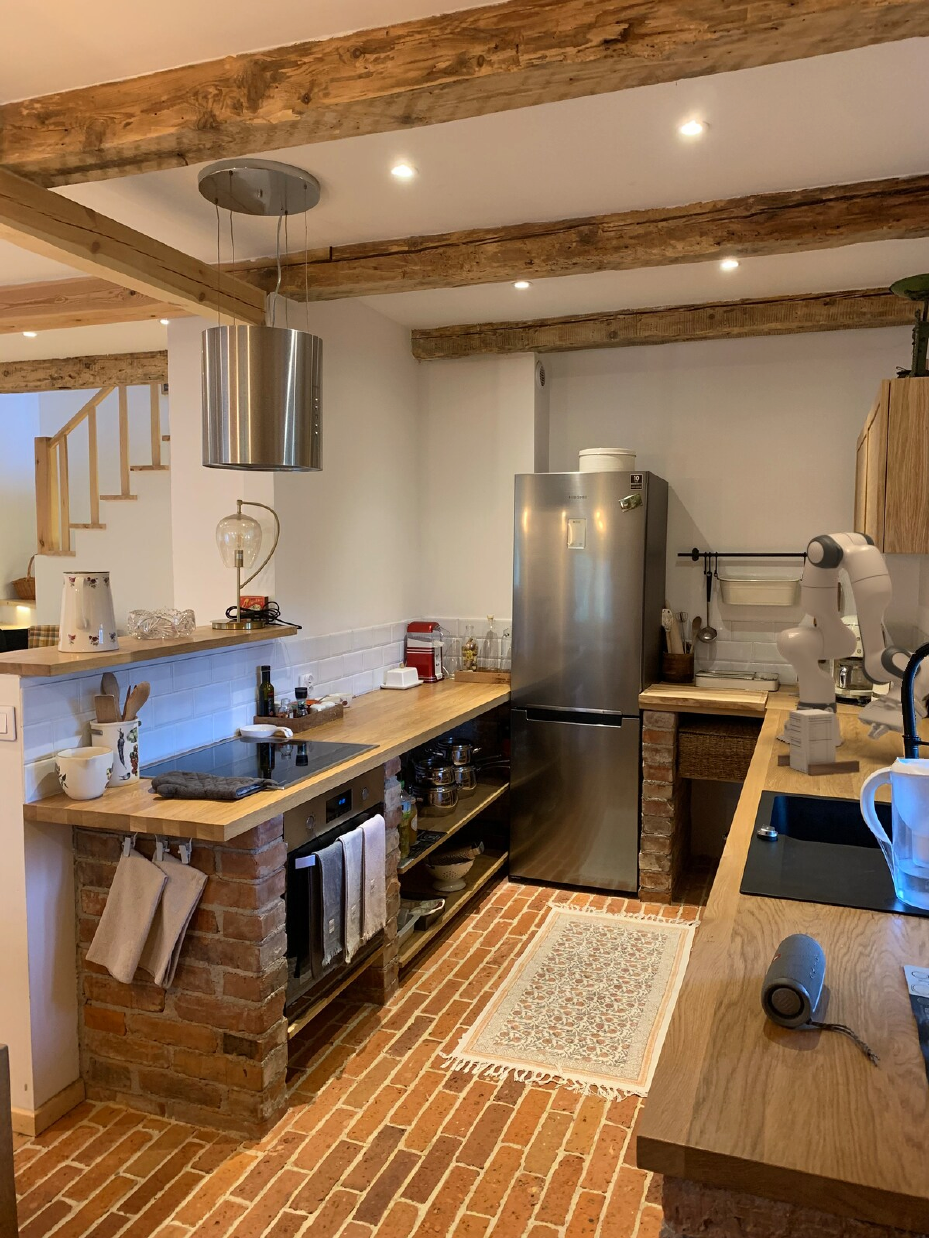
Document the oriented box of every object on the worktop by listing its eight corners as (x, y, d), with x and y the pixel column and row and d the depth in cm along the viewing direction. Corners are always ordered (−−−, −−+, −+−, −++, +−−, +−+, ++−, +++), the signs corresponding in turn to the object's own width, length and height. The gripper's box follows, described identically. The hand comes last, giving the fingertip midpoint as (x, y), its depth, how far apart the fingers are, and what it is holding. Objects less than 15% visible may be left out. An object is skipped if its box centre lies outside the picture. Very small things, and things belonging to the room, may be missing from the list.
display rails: (777, 765, 265) (777, 755, 265) (823, 761, 269) (823, 751, 269) (811, 775, 250) (811, 765, 250) (859, 771, 254) (859, 761, 254)
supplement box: (818, 765, 263) (818, 708, 263) (837, 771, 254) (836, 712, 254) (788, 767, 262) (788, 710, 261) (805, 773, 253) (805, 714, 252)
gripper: (869, 691, 276) (842, 724, 274) (918, 700, 256) (889, 736, 254) (882, 704, 277) (854, 738, 275) (932, 714, 257) (902, 751, 255)
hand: (871, 737), depth 264 cm, fingers closed
